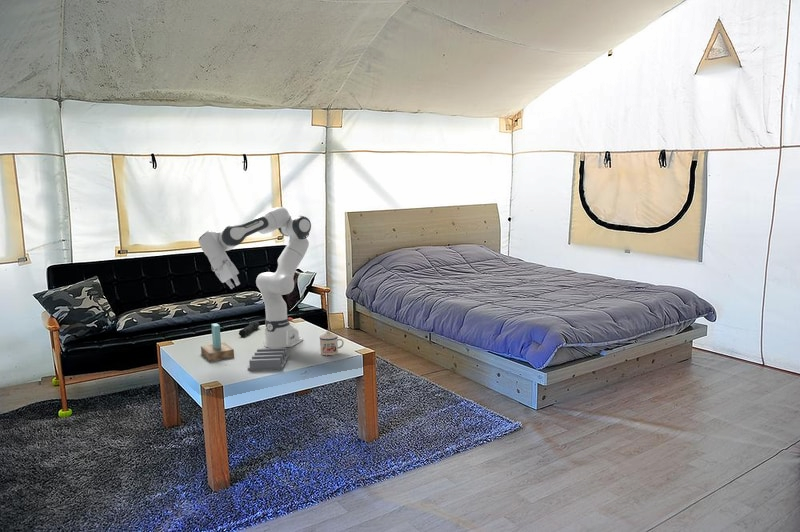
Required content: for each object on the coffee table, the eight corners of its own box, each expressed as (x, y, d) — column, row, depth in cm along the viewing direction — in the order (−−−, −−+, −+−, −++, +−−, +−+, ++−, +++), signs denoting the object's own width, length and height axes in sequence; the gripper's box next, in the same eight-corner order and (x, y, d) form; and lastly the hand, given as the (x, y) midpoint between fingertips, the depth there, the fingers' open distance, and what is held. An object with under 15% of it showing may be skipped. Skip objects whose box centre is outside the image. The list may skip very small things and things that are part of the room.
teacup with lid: (320, 357, 289) (320, 334, 288) (319, 352, 298) (318, 329, 297) (345, 355, 292) (344, 332, 290) (342, 350, 301) (342, 328, 299)
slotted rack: (256, 357, 290) (255, 348, 290) (288, 356, 291) (288, 347, 290) (247, 370, 271) (247, 360, 270) (282, 369, 271) (281, 359, 271)
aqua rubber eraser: (217, 346, 298) (216, 323, 297) (221, 348, 293) (219, 325, 292) (212, 346, 297) (211, 323, 295) (216, 349, 292) (214, 326, 290)
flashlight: (260, 328, 351) (259, 320, 351) (246, 337, 331) (246, 329, 330) (252, 328, 352) (251, 320, 351) (238, 337, 332) (237, 328, 331)
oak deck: (224, 349, 306) (224, 342, 305) (234, 357, 292) (233, 349, 292) (201, 353, 299) (200, 346, 299) (209, 361, 286) (209, 353, 285)
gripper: (232, 255, 279) (247, 279, 281) (221, 263, 296) (235, 286, 298) (220, 261, 276) (236, 286, 277) (210, 269, 293) (224, 292, 294)
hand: (235, 286), depth 288 cm, fingers open, 8 cm apart
